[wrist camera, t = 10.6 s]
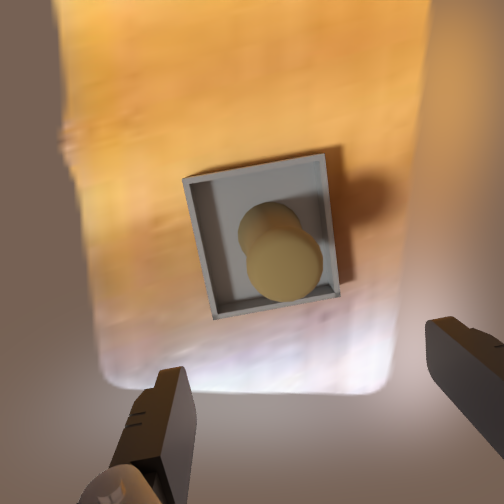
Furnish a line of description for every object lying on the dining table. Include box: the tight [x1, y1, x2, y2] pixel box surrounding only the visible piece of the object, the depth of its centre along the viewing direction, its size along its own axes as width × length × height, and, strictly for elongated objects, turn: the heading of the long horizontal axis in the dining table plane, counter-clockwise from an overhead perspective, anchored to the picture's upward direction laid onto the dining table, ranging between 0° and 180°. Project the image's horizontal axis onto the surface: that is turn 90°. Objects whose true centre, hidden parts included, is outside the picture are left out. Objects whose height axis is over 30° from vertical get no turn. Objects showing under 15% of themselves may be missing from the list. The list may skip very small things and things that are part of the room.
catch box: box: [182, 153, 341, 320], centre depth 32 cm, size 13×12×2 cm
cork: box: [238, 202, 323, 302], centre depth 27 cm, size 6×6×11 cm
